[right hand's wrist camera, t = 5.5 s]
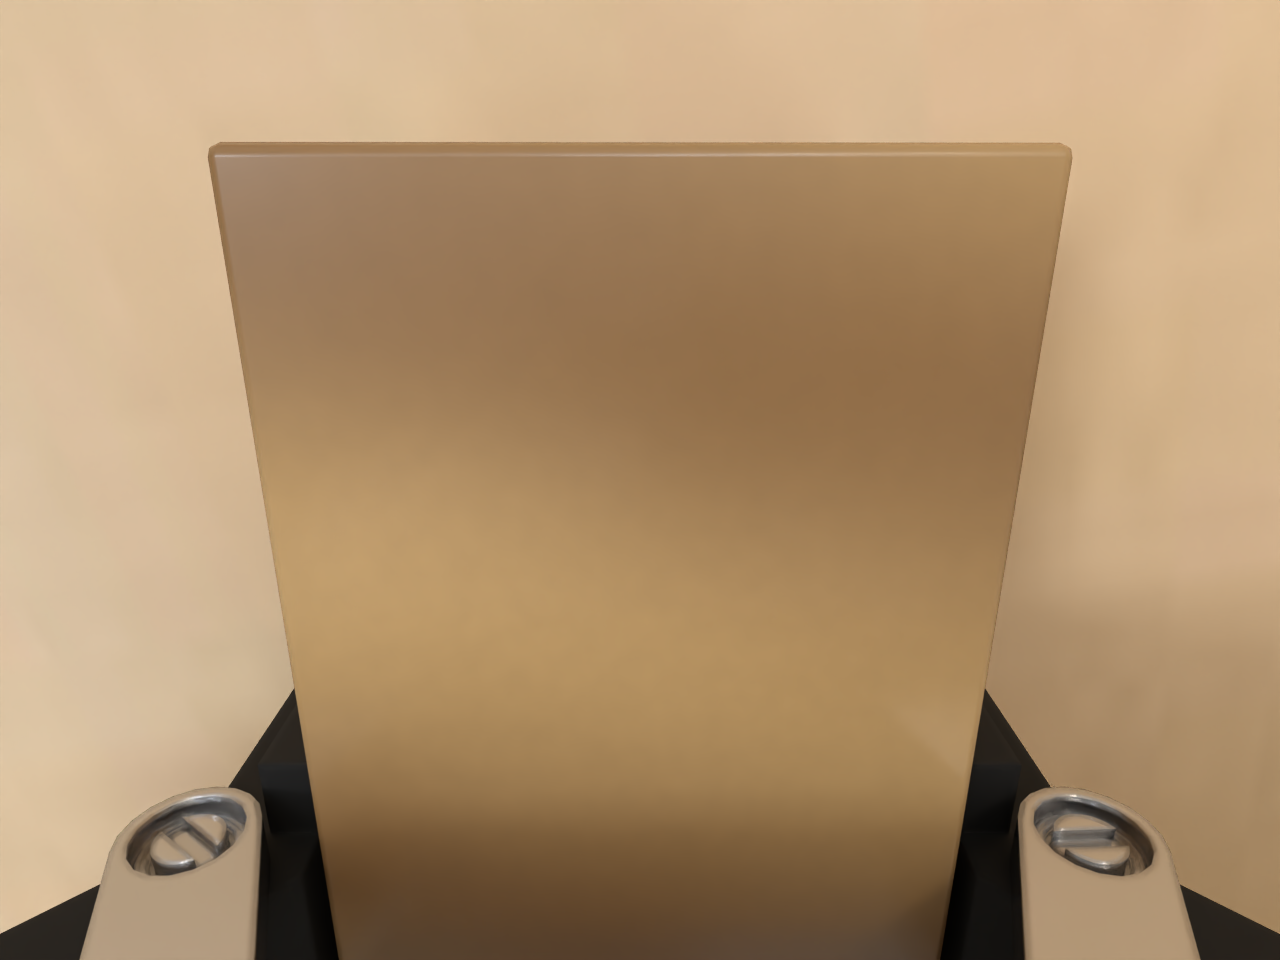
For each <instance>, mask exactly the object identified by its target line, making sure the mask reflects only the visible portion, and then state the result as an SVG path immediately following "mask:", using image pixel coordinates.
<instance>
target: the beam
mask: <svg viewBox="0 0 1280 960" xmlns="http://www.w3.org/2000/svg"><path fill="white" fill-rule="evenodd" d="M208 161H209V167H210V173H211V179H212V185H213V191H214V197H215V204H216V210H217V216H218V222H219V228H220V234H221V240H222V246H223V253H224V259H225V265H226V271H227V277H228V283H229V289H230V295H231V302H232V308H233V314H234V320H235V326H236V332H237V338H238V344H239V351H240V357H241V363H242V369H243V375H244V381H245V387H246V393H247V400H248V406H249V412H250V418H251V424H252V430H253V436H254V442H255V449H256V455H257V461H258V467H259V473H260V479H261V485H262V491H263V498H264V504H265V510H266V516H267V522H268V528H269V534H270V540H271V547H272V553H273V559H274V565H275V571H276V577H277V583H278V590H279V596H280V602H281V608H282V614H283V620H284V626H285V632H286V639H287V645H288V651H289V657H290V663H291V669H292V675H293V681H294V688H295V694H296V700H297V706H298V712H299V718H300V724H301V730H302V737H303V743H304V749H305V755H306V761H307V767H308V773H309V779H310V786H311V792H312V798H313V804H314V810H315V816H316V822H317V828H318V835H319V841H320V847H321V853H322V859H323V865H324V871H325V877H326V884H327V890H328V896H329V902H330V908H331V914H332V920H333V926H334V933H335V939H336V945H337V951H338V957H339V960H940V957H941V951H942V945H943V939H944V933H945V927H946V921H947V915H948V909H949V903H950V897H951V891H952V885H953V879H954V873H955V866H956V860H957V854H958V848H959V842H960V836H961V830H962V824H963V818H964V812H965V806H966V800H967V794H968V788H969V782H970V775H971V769H972V763H973V757H974V751H975V745H976V739H977V733H978V727H979V721H980V715H981V709H982V703H983V697H984V691H985V684H986V678H987V672H988V666H989V660H990V654H991V648H992V642H993V636H994V630H995V624H996V618H997V612H998V606H999V600H1000V594H1001V587H1002V581H1003V575H1004V569H1005V563H1006V557H1007V551H1008V545H1009V539H1010V533H1011V527H1012V521H1013V515H1014V509H1015V503H1016V496H1017V490H1018V484H1019V478H1020V472H1021V466H1022V460H1023V454H1024V448H1025V442H1026V436H1027V430H1028V424H1029V418H1030V412H1031V406H1032V399H1033V393H1034V387H1035V381H1036V375H1037V369H1038V363H1039V357H1040V351H1041V345H1042V339H1043V333H1044V327H1045V321H1046V315H1047V308H1048V302H1049V296H1050V290H1051V284H1052V278H1053V272H1054V266H1055V260H1056V254H1057V248H1058V242H1059V236H1060V230H1061V224H1062V217H1063V211H1064V205H1065V199H1066V193H1067V187H1068V181H1069V175H1070V169H1071V163H1072V152H1071V149H1070V148H1069V147H1067V146H1065V145H1063V144H1061V143H553V142H220V143H218V144H216V145H213V146H211V147H210V148H209V153H208Z"/></svg>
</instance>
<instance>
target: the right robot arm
mask: <svg viewBox="0 0 1280 960" xmlns="http://www.w3.org/2000/svg"><path fill="white" fill-rule="evenodd" d="M0 960H339V957H338V951H337V945H336V939H335V933H334V926H333V920H332V914H331V908H330V902H329V896H328V890H327V884H326V877H325V871H324V865H323V859H322V853H321V847H320V841H319V835H318V828H317V822H316V816H315V810H314V804H313V798H312V792H311V786H310V779H309V773H308V767H307V761H306V755H305V749H304V743H303V737H302V730H301V724H300V718H299V712H298V706H297V700H296V694H295V688H294V689H293V691H292V692H291V694H290V695H289V697H288V698H287V700H286V701H285V703H284V704H283V706H282V707H281V709H280V710H279V712H278V713H277V715H276V716H275V718H274V719H273V721H272V722H271V724H270V725H269V727H268V728H267V730H266V731H265V733H264V734H263V736H262V737H261V739H260V740H259V742H258V743H257V745H256V746H255V748H254V749H253V751H252V752H251V754H250V755H249V757H248V758H247V760H246V761H245V763H244V764H243V766H242V767H241V769H240V770H239V772H238V773H237V775H236V776H235V778H234V779H233V781H232V782H231V784H230V785H229V787H228V788H226V787H211V788H204V789H196V790H192V791H189V792H186V793H183V794H179V795H176V796H173V797H171V798H169V799H167V800H165V801H162V802H160V803H158V804H156V805H154V806H152V807H150V808H149V809H148V810H146V811H145V812H143V813H142V814H141V815H139V816H138V817H136V818H135V819H134V820H132V821H131V822H130V823H129V824H128V825H127V826H126V828H125V829H124V830H123V831H122V832H121V833H120V834H119V835H118V836H117V838H116V840H115V842H114V844H113V846H112V848H111V850H110V852H109V855H108V859H107V862H106V866H105V870H104V873H103V877H102V880H101V884H100V885H98V886H96V887H94V888H92V889H90V890H88V891H86V892H84V893H82V894H80V895H78V896H76V897H74V898H72V899H69V900H67V901H65V902H63V903H61V904H59V905H57V906H55V907H53V908H51V909H49V910H47V911H45V912H43V913H41V914H39V915H37V916H35V917H33V918H31V919H29V920H27V921H25V922H23V923H21V924H19V925H17V926H15V927H13V928H11V929H9V930H7V931H5V932H3V933H1V934H0ZM940 960H1280V934H1278V933H1276V932H1274V931H1272V930H1270V929H1268V928H1266V927H1264V926H1262V925H1260V924H1258V923H1256V922H1254V921H1252V920H1250V919H1248V918H1246V917H1244V916H1242V915H1240V914H1238V913H1236V912H1234V911H1232V910H1230V909H1228V908H1226V907H1224V906H1222V905H1220V904H1218V903H1216V902H1214V901H1212V900H1210V899H1208V898H1206V897H1204V896H1202V895H1200V894H1198V893H1196V892H1194V891H1192V890H1190V889H1188V888H1186V887H1184V886H1182V885H1180V884H1179V880H1178V877H1177V873H1176V870H1175V866H1174V862H1173V859H1172V855H1171V852H1170V850H1169V848H1168V846H1167V844H1166V842H1165V840H1164V838H1163V836H1162V835H1161V834H1160V833H1159V832H1158V831H1157V830H1156V829H1155V828H1154V826H1153V825H1152V824H1151V823H1150V822H1149V821H1148V820H1146V819H1145V818H1144V817H1142V816H1141V815H1139V814H1138V813H1137V812H1135V811H1134V810H1132V809H1131V808H1130V807H1128V806H1126V805H1124V804H1122V803H1120V802H1118V801H1115V800H1113V799H1111V798H1109V797H1107V796H1104V795H1101V794H1097V793H1094V792H1091V791H1088V790H1084V789H1076V788H1069V787H1054V788H1051V787H1050V785H1049V784H1048V782H1047V781H1046V779H1045V778H1044V776H1043V775H1042V773H1041V772H1040V770H1039V769H1038V767H1037V766H1036V764H1035V763H1034V761H1033V760H1032V758H1031V757H1030V755H1029V754H1028V752H1027V751H1026V749H1025V748H1024V746H1023V745H1022V743H1021V742H1020V740H1019V739H1018V737H1017V736H1016V734H1015V733H1014V731H1013V730H1012V728H1011V727H1010V725H1009V724H1008V722H1007V721H1006V719H1005V718H1004V716H1003V715H1002V713H1001V712H1000V710H999V709H998V707H997V706H996V704H995V703H994V701H993V700H992V698H991V697H990V695H989V694H988V692H987V691H986V689H985V691H984V697H983V703H982V709H981V715H980V721H979V727H978V733H977V739H976V745H975V751H974V757H973V763H972V769H971V775H970V782H969V788H968V794H967V800H966V806H965V812H964V818H963V824H962V830H961V836H960V842H959V848H958V854H957V860H956V866H955V873H954V879H953V885H952V891H951V897H950V903H949V909H948V915H947V921H946V927H945V933H944V939H943V945H942V951H941V957H940Z"/></svg>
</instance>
